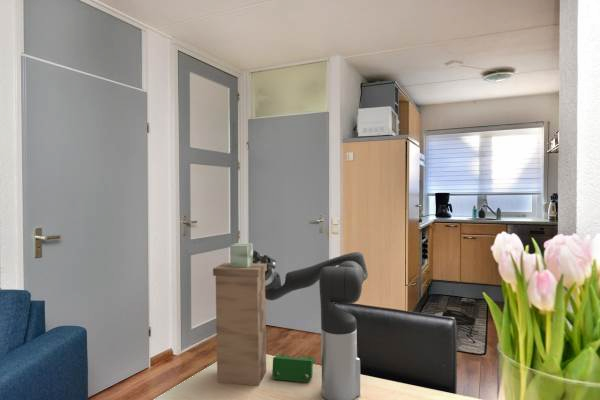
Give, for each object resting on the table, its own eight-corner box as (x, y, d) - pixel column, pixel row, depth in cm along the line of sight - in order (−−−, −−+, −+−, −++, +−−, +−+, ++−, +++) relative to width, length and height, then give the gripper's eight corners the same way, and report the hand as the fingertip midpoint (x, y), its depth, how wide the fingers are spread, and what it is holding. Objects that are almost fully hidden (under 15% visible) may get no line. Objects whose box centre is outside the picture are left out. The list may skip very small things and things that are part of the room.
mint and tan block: (245, 258, 123) (245, 239, 123) (261, 258, 122) (260, 239, 122) (230, 266, 109) (230, 245, 109) (247, 267, 108) (247, 245, 108)
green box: (307, 390, 111) (320, 360, 112) (303, 395, 106) (317, 364, 107) (272, 369, 115) (285, 340, 116) (266, 373, 109) (279, 343, 110)
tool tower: (226, 368, 116) (224, 262, 115) (268, 371, 114) (266, 263, 113) (214, 382, 107) (213, 268, 107) (260, 386, 105) (258, 269, 104)
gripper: (243, 260, 135) (227, 241, 120) (282, 261, 132) (271, 242, 117) (240, 281, 131) (223, 264, 116) (280, 283, 129) (269, 265, 114)
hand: (248, 253), depth 117 cm, fingers open, 3 cm apart
